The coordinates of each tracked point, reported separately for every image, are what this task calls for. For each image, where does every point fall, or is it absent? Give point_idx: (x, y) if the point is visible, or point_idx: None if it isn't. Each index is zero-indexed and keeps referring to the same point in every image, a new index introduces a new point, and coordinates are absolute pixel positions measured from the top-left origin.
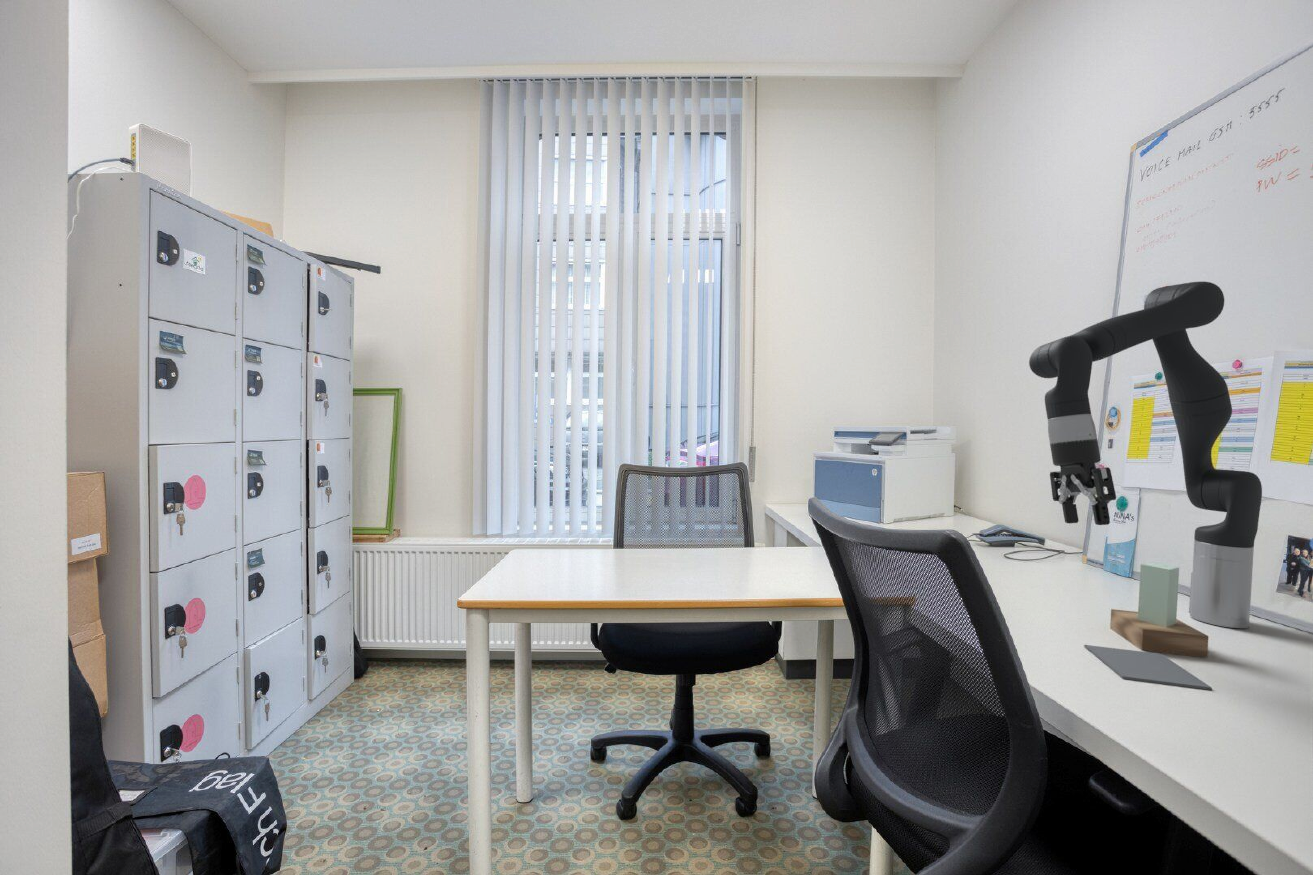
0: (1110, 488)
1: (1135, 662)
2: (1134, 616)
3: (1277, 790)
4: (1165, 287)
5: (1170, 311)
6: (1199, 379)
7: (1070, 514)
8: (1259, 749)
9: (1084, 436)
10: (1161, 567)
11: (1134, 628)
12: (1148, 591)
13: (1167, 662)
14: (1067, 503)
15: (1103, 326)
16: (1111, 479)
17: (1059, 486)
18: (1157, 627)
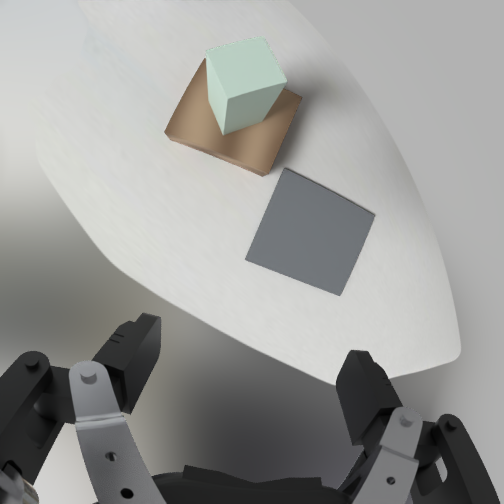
0: (463, 462)
1: (309, 240)
2: (206, 124)
3: (451, 324)
4: None
5: None
6: None
7: (147, 364)
8: (435, 290)
9: None
10: (264, 78)
11: (242, 163)
12: (241, 114)
13: (312, 192)
14: (122, 405)
15: None
16: (489, 487)
17: (30, 456)
18: (262, 138)
